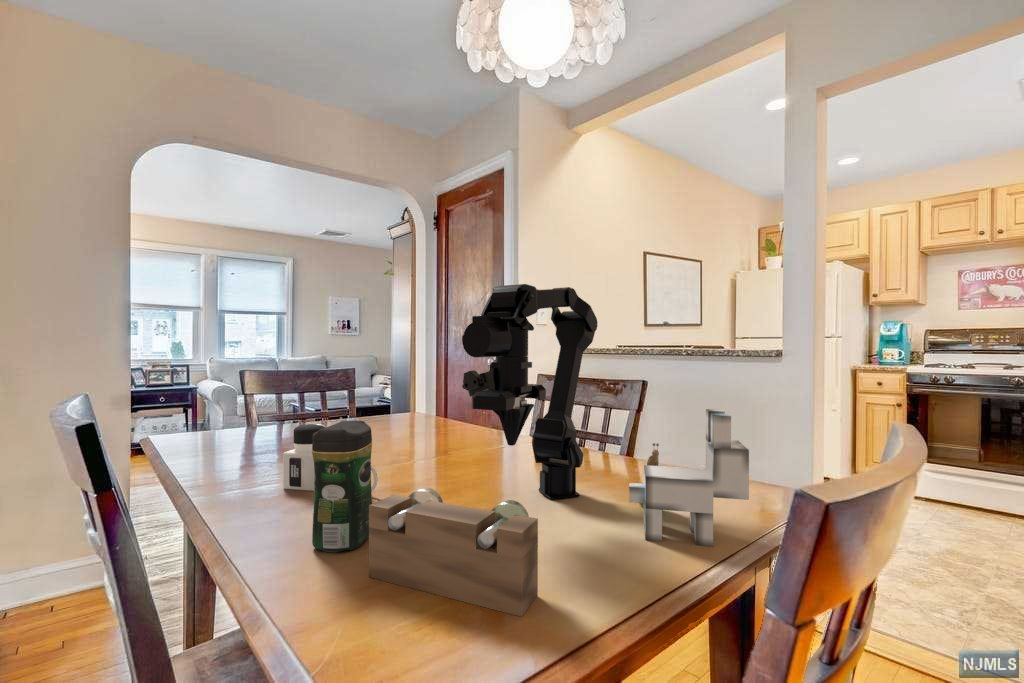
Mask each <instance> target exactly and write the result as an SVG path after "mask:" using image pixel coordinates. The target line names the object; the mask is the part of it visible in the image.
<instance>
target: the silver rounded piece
mask: <svg viewBox="0 0 1024 683" xmlns="http://www.w3.org/2000/svg"><path fill="white" fill-rule="evenodd" d="M408 495H409V496H407V497H411V507H409V508H407V509H405V510H403V511H401V512H399V513H397V514H395V515H393V516H391V517H390V518H389V520H388V525H389V527H390V528H391V529H392V530H394V531H395V530H398V529H400V528H401V527H403V526H405V517H406V511H408V510H410V509H412V508H414V507H416V506H418V505H420V504H422V503H424V502H426V501H428V500H429V501H435V502H441V503H444V502H443V499H442V496H441V495H440V494H439V492H438V491H437V490H435V489H434V488H432V487H421V488H420V489H417V490H415V491H413V492H412V493H410V494H408Z"/></svg>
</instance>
